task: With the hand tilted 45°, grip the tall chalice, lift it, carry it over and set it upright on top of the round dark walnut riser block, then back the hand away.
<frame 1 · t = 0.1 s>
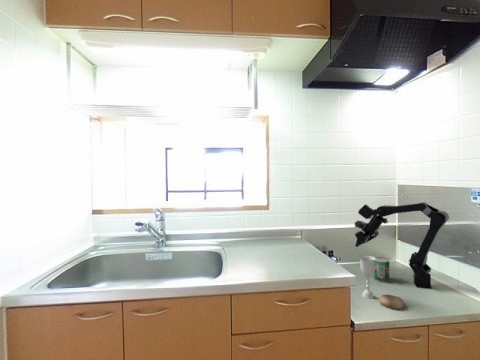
hand: (359, 244, 157), 15 cm above the countertop, tool tilted 35°, fingers open, 9 cm apart
canned tomato: (381, 279, 143), on the countertop
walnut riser: (391, 305, 116), on the countertop
chalice: (368, 296, 125), on the countertop
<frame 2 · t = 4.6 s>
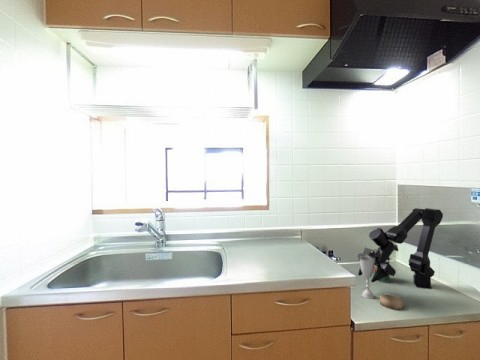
hand: (365, 278, 124), 9 cm above the countertop, tool tilted 45°, fingers open, 8 cm apart
chalice: (368, 296, 125), on the countertop, touching gripper
everything else where it was.
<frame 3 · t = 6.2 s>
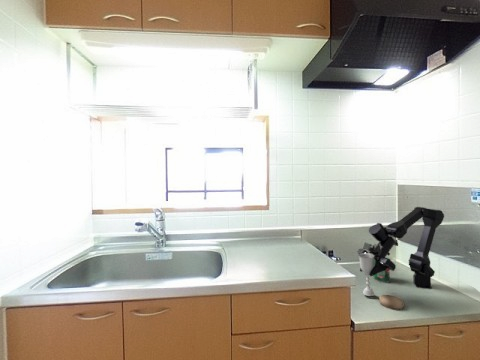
hand: (365, 273, 124), 11 cm above the countertop, tool tilted 45°, fingers closed on chalice, 6 cm apart
chalice: (368, 293, 125), point 1 cm above the countertop, touching gripper
everything else where it was.
when the fingers open (12 cm above the countertop, at t = 8.5 s): chalice stays where it is, resting on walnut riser.
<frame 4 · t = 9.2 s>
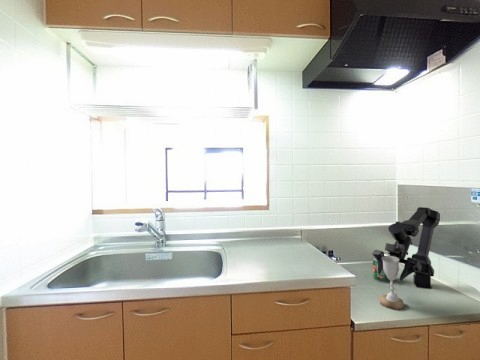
hand: (389, 276, 115), 13 cm above the countertop, tool tilted 45°, fingers open, 9 cm apart
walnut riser: (391, 305, 116), on the countertop, touching chalice
chalice: (392, 299, 117), point 2 cm above the countertop, touching gripper, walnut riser
everything else where it was.
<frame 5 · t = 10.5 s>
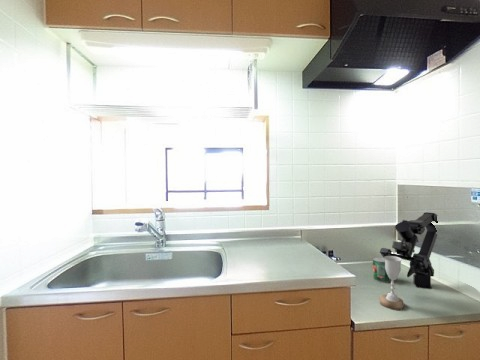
hand: (396, 273, 119), 12 cm above the countertop, tool tilted 45°, fingers open, 9 cm apart
chalice: (392, 299, 117), point 2 cm above the countertop, touching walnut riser
everything else where it was.
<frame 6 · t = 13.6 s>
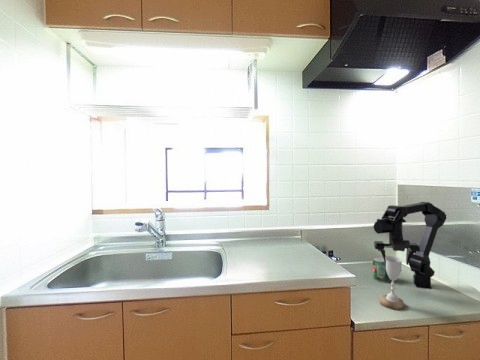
hand: (396, 263, 129), 13 cm above the countertop, tool pointing down, fingers open, 9 cm apart
at the end: chalice 0.6 cm off-centre on the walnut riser, point 2.4 cm above the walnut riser's base; chalice tilted 3°; the gripper is holding nothing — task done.
